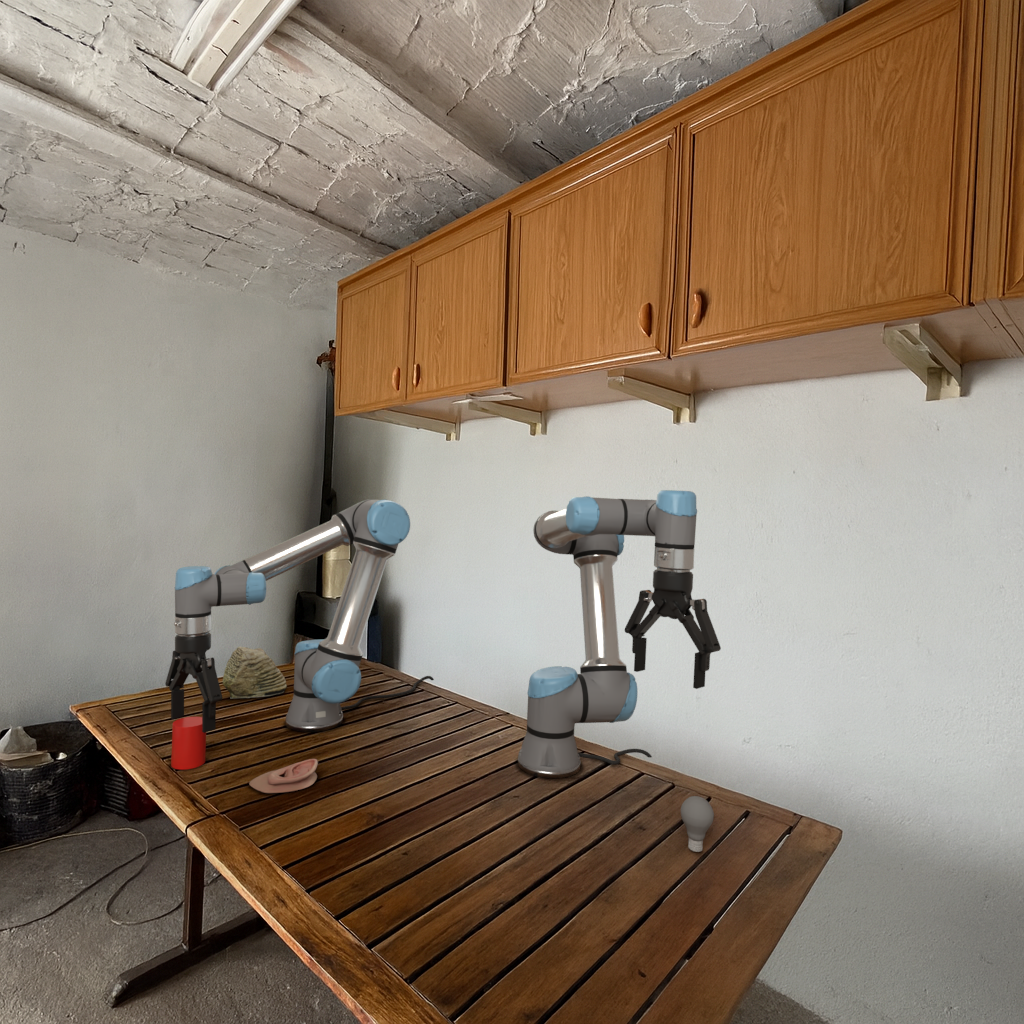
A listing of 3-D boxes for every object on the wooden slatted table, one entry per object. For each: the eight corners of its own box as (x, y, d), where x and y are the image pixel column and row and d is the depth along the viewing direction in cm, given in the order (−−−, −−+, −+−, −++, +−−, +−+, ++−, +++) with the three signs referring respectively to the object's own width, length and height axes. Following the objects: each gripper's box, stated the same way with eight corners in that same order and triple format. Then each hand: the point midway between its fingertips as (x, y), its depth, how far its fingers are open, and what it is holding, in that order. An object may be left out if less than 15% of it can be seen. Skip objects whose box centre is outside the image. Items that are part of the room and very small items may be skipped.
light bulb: (674, 841, 122) (676, 790, 121) (704, 841, 122) (707, 790, 122) (685, 859, 116) (688, 805, 115) (717, 859, 116) (719, 805, 116)
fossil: (218, 695, 195) (220, 647, 195) (278, 685, 208) (279, 640, 207) (228, 703, 189) (230, 653, 188) (289, 692, 201) (290, 645, 201)
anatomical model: (241, 770, 135) (272, 750, 146) (240, 789, 135) (271, 767, 146) (297, 779, 132) (324, 757, 144) (297, 798, 132) (324, 775, 144)
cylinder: (206, 766, 146) (207, 724, 146) (171, 771, 142) (172, 729, 142) (204, 755, 152) (205, 714, 152) (170, 759, 149) (172, 718, 148)
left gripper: (149, 628, 151) (149, 716, 151) (207, 644, 137) (206, 741, 137) (181, 623, 157) (180, 708, 158) (239, 638, 143) (238, 731, 143)
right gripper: (610, 563, 130) (605, 666, 130) (721, 578, 111) (715, 698, 111) (633, 562, 135) (628, 661, 135) (743, 576, 116) (737, 691, 116)
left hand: (192, 724), depth 147 cm, fingers open, 13 cm apart
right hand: (668, 678), depth 123 cm, fingers open, 13 cm apart
